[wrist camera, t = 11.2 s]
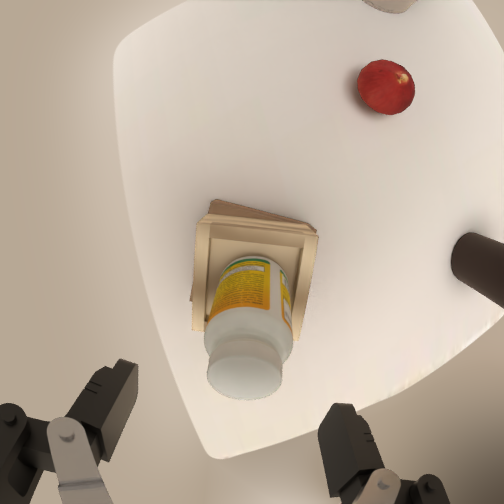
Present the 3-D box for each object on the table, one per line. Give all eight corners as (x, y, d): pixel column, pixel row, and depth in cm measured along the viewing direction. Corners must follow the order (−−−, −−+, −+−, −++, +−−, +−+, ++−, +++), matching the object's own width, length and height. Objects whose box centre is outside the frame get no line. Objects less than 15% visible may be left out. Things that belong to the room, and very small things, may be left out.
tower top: (207, 213, 26) (196, 223, 21) (306, 224, 26) (318, 236, 21) (201, 303, 28) (191, 330, 23) (291, 313, 28) (298, 340, 23)
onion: (370, 63, 24) (401, 37, 17) (403, 102, 26) (442, 86, 18) (337, 89, 26) (364, 64, 18) (373, 129, 27) (409, 118, 19)
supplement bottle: (302, 278, 22) (317, 376, 13) (259, 319, 24) (255, 415, 16) (246, 239, 21) (230, 330, 12) (207, 287, 23) (177, 381, 14)
